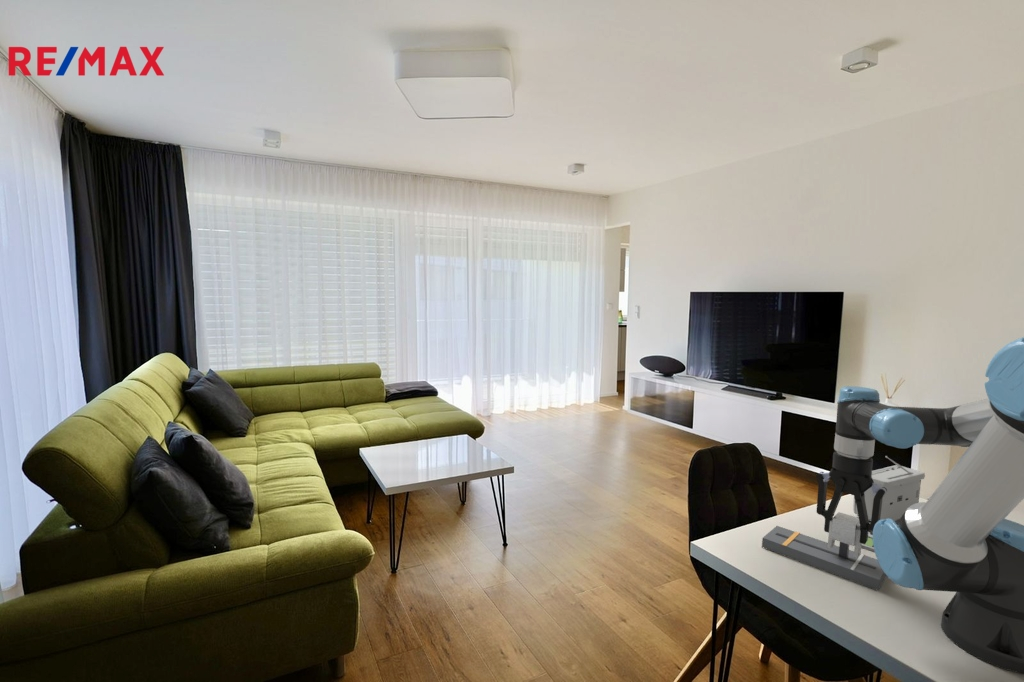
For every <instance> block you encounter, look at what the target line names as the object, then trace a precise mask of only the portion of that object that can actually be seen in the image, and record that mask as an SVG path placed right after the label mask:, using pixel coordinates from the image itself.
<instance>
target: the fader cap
mask: <svg viewBox="0 0 1024 682" xmlns="http://www.w3.org/2000/svg"><path fill="white" fill-rule="evenodd" d="M859 526H860V522H859V517H858V516H857V517H856V516H854V515H851V514H846V513H843V512H840V511H838V512H837V513H836V514H834V516H833V521H832V532H831V539H834V540H835V541H837V542H839V545H838V546H839V556H841V557H844V558H847V557H848V555H849V550H850V546H852V547H855V546H854V545H855V539H856V529H857V528H858V527H859Z"/></svg>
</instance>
